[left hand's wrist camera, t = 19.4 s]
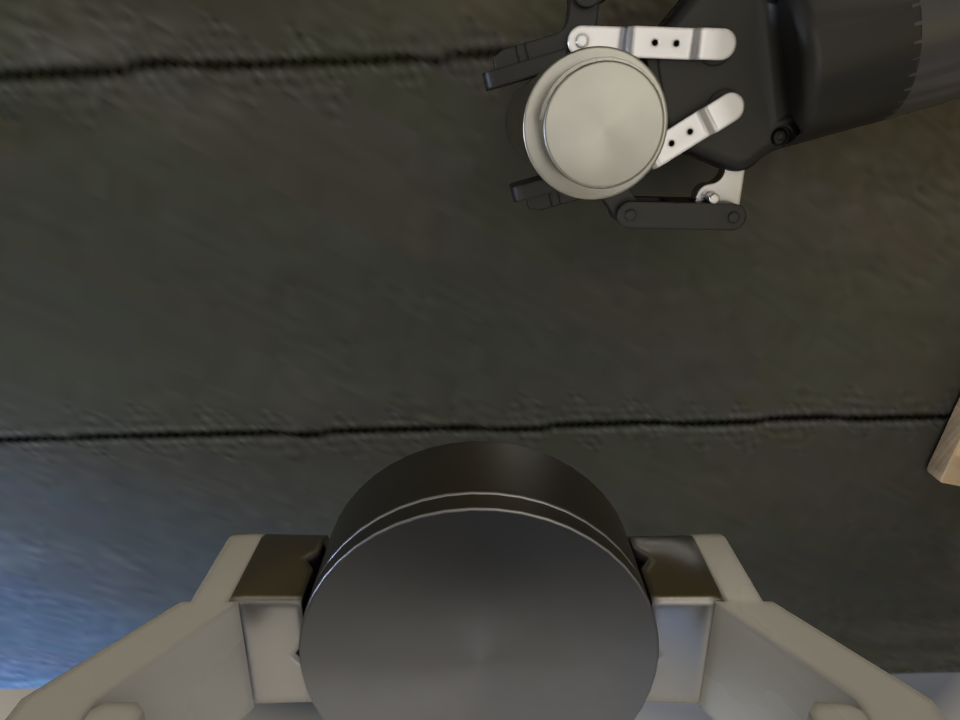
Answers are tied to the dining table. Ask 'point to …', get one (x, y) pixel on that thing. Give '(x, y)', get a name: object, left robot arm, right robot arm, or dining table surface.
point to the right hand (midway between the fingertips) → (500, 139)
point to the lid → (478, 596)
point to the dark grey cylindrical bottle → (590, 122)
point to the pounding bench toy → (948, 452)
